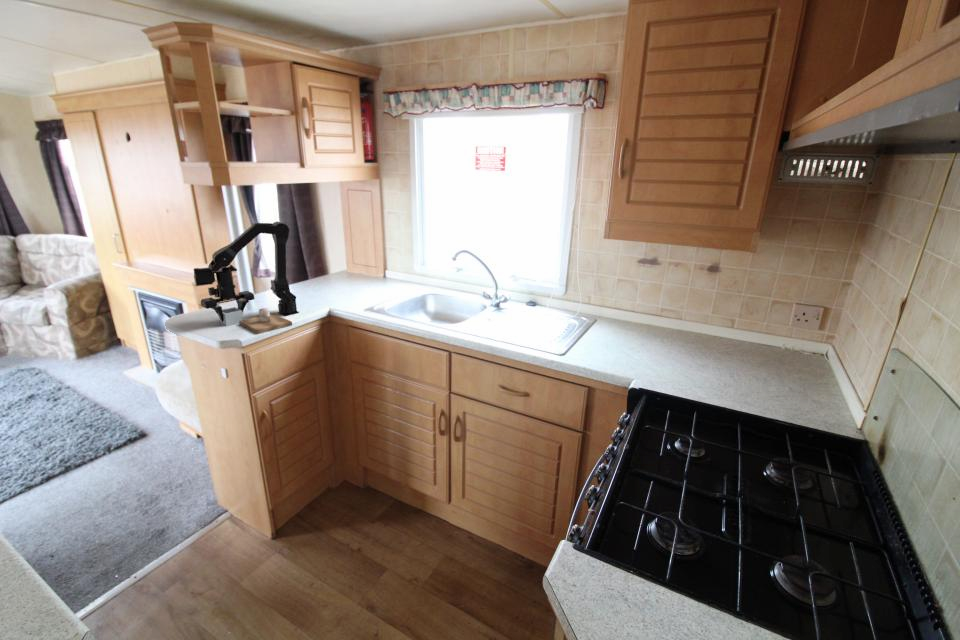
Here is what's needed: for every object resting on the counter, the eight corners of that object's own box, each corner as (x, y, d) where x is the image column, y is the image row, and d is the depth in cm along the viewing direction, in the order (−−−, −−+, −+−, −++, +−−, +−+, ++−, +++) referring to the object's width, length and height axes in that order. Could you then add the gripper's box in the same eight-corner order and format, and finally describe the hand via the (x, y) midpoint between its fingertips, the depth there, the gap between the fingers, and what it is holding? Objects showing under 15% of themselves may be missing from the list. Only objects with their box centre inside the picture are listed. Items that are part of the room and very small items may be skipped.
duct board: (273, 316, 195) (271, 302, 193) (292, 325, 185) (290, 310, 183) (239, 324, 185) (237, 309, 183) (258, 334, 175) (255, 318, 173)
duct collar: (236, 318, 191) (234, 307, 190) (243, 322, 187) (241, 310, 186) (220, 322, 187) (218, 310, 185) (226, 325, 183) (225, 314, 181)
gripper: (240, 275, 193) (245, 310, 198) (192, 283, 180) (199, 320, 185) (252, 280, 186) (257, 315, 192) (203, 288, 173) (210, 326, 178)
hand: (231, 319), depth 187 cm, fingers closed on duct collar, 7 cm apart
